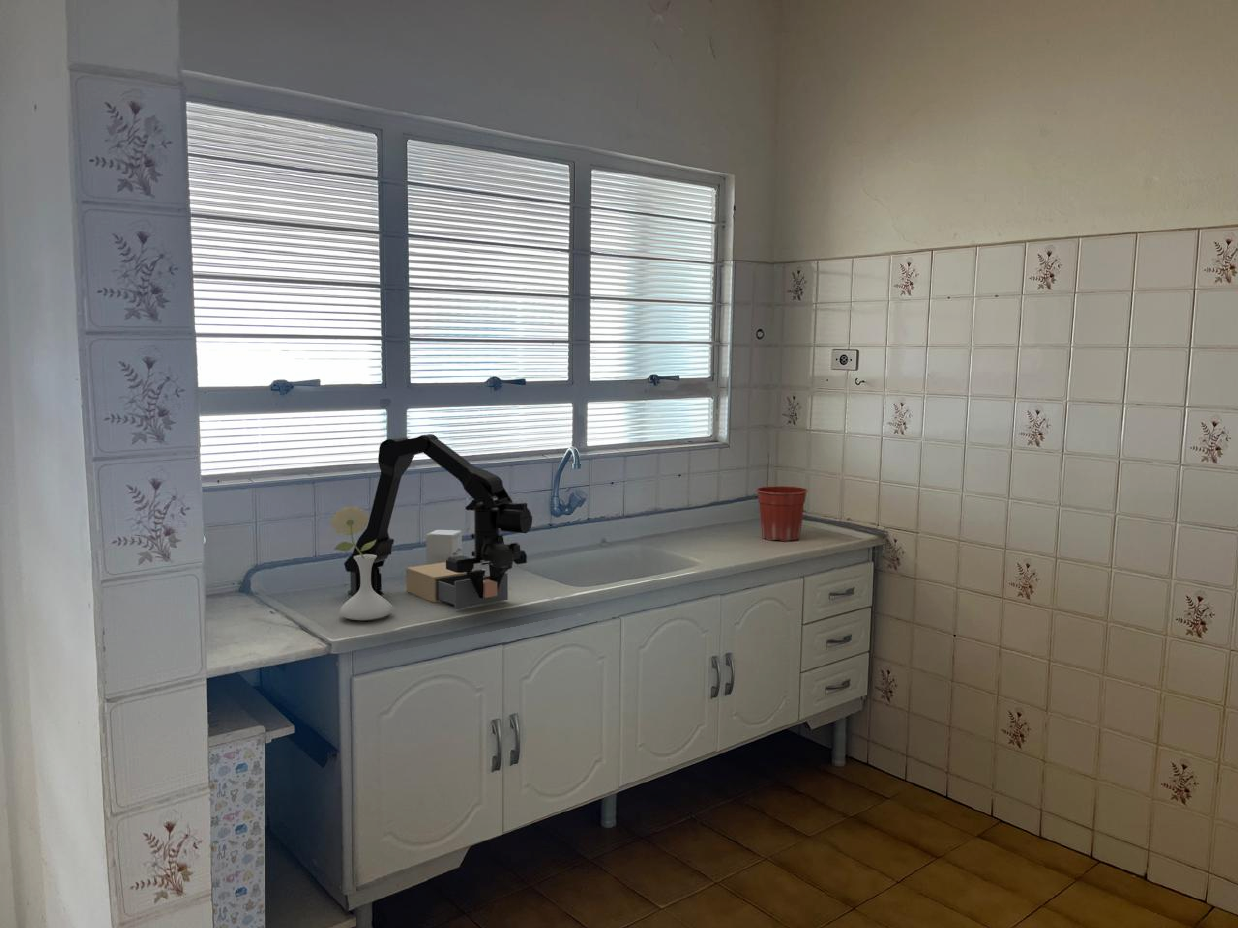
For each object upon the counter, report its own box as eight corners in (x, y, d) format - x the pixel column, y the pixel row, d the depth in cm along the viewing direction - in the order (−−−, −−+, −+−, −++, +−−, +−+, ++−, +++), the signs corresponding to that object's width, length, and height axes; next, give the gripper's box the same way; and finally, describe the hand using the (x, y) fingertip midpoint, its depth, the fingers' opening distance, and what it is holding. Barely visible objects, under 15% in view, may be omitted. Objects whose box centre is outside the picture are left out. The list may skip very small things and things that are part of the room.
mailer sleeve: (434, 602, 227) (434, 577, 226) (406, 591, 238) (406, 567, 237) (485, 593, 236) (485, 569, 235) (456, 583, 247) (456, 560, 246)
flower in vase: (397, 610, 219) (395, 502, 217) (387, 624, 208) (384, 509, 205) (339, 611, 219) (336, 502, 216) (326, 624, 208) (322, 510, 205)
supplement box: (452, 583, 247) (452, 534, 246) (425, 582, 248) (424, 533, 247) (463, 577, 254) (462, 529, 253) (436, 575, 256) (436, 528, 254)
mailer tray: (465, 612, 216) (464, 584, 216) (424, 596, 231) (424, 570, 230) (517, 603, 225) (516, 576, 225) (474, 588, 240) (474, 563, 239)
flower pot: (751, 541, 308) (752, 491, 306) (759, 532, 323) (760, 485, 322) (803, 544, 303) (804, 493, 301) (808, 535, 318) (810, 487, 317)
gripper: (469, 539, 208) (470, 610, 210) (540, 530, 220) (540, 597, 222) (444, 532, 217) (444, 600, 218) (513, 524, 229) (513, 588, 230)
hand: (487, 596), depth 222 cm, fingers closed on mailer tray, 3 cm apart
